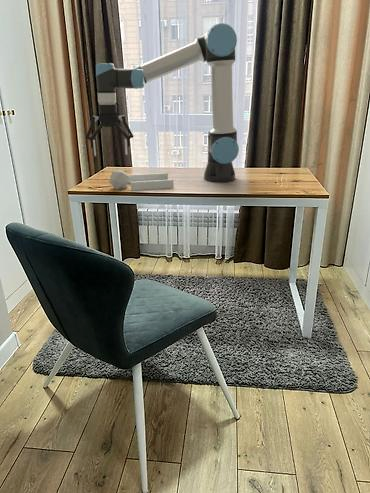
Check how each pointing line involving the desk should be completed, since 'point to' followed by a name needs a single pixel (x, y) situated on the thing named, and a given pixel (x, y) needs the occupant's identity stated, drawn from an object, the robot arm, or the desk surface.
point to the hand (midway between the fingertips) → (111, 155)
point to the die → (119, 179)
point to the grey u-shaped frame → (150, 181)
